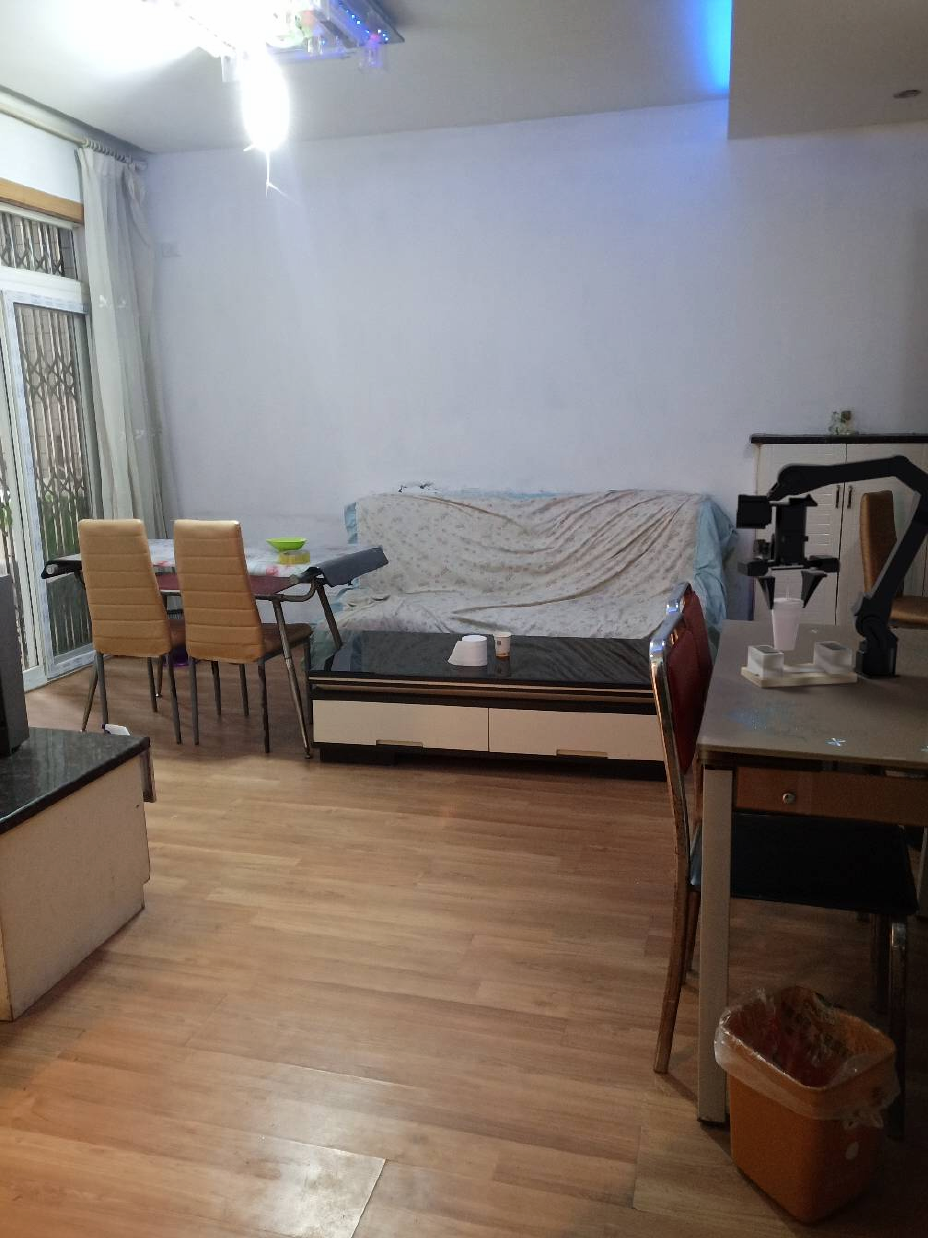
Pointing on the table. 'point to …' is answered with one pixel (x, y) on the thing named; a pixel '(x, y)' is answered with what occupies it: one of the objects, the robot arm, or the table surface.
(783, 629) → the smoothie
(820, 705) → the table surface
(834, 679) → the board
